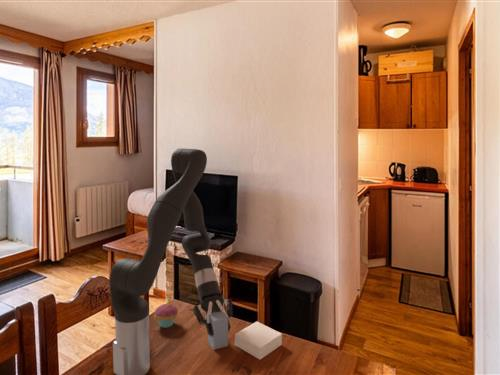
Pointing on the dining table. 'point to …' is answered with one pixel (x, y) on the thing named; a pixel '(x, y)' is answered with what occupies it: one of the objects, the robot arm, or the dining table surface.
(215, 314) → the block
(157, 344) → the dining table surface
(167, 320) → the cupcake
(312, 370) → the dining table surface
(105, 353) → the dining table surface
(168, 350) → the dining table surface
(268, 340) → the base
